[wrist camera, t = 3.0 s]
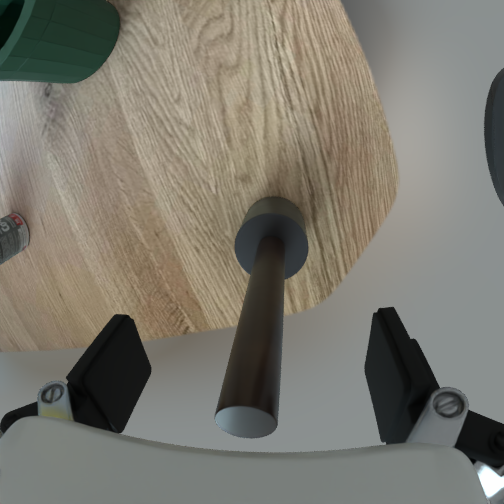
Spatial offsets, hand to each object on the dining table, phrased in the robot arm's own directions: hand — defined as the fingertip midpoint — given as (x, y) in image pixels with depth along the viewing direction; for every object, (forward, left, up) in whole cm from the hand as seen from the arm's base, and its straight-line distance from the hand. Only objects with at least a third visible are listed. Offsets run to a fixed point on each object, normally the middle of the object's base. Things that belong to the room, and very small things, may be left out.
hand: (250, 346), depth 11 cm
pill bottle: (+30, -2, -15) cm, 33 cm away
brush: (0, 0, -14) cm, 14 cm away
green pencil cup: (+16, -20, -14) cm, 29 cm away
